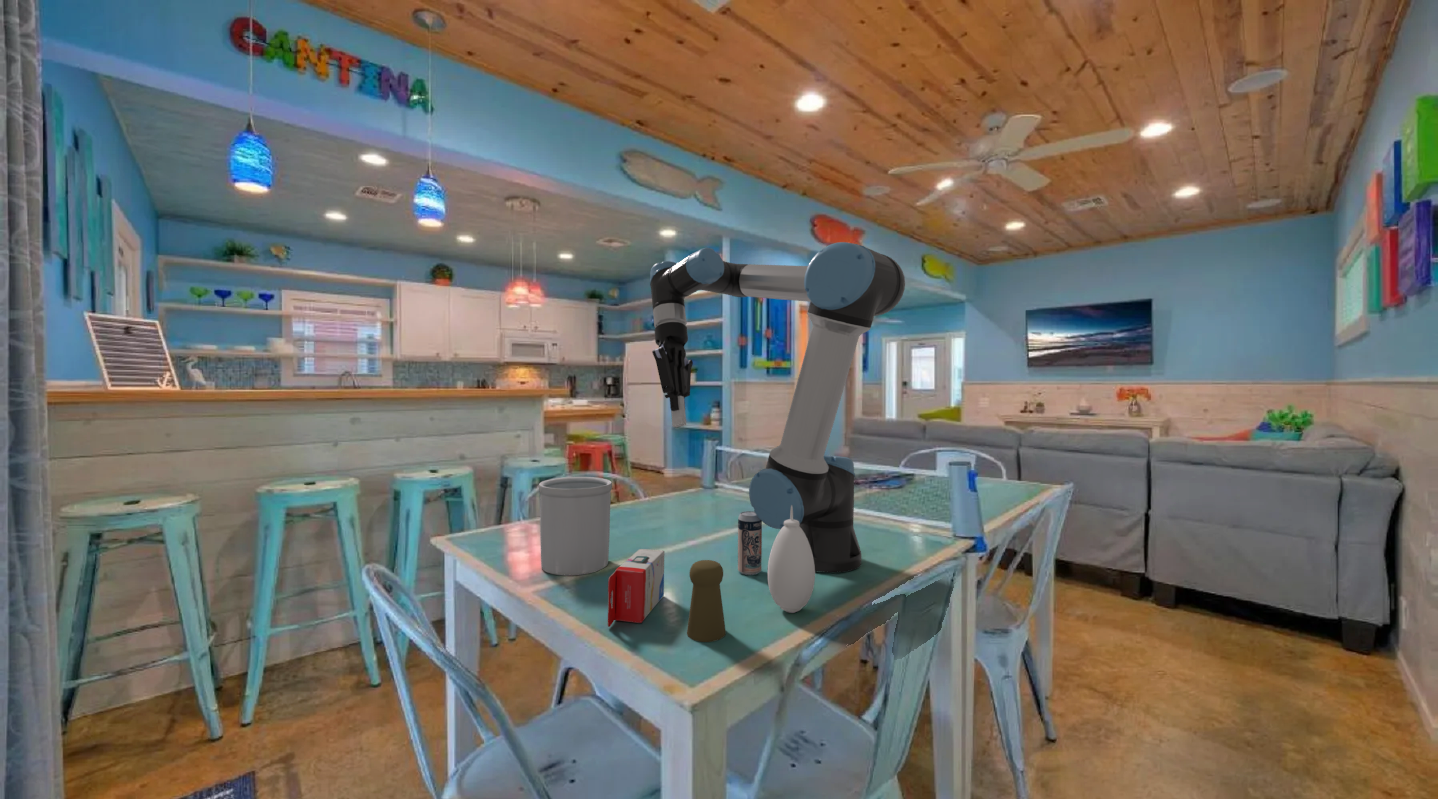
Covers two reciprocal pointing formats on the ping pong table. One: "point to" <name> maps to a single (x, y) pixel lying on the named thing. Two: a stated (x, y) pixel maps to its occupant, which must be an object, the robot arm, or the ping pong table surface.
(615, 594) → the ink box
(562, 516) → the utensil holder
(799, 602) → the air blower bulb
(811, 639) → the ping pong table surface
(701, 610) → the cork
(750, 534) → the beer can
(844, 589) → the ping pong table surface
